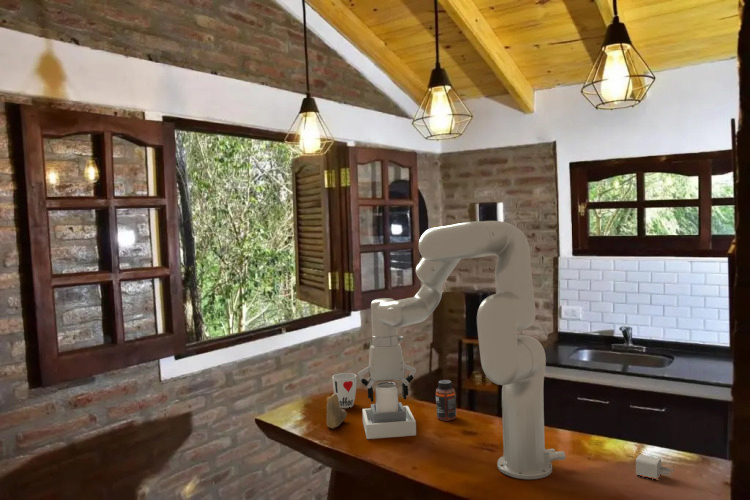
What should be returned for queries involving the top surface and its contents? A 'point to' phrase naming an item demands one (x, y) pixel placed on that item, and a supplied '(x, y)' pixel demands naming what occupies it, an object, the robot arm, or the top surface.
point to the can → (386, 397)
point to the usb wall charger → (650, 466)
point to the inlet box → (388, 423)
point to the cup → (345, 388)
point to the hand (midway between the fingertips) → (388, 399)
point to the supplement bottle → (445, 401)
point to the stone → (334, 412)
